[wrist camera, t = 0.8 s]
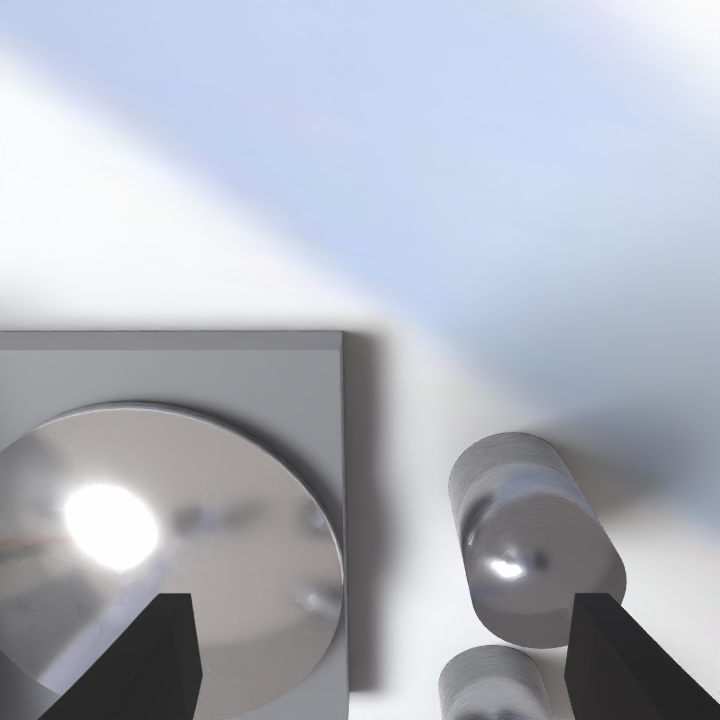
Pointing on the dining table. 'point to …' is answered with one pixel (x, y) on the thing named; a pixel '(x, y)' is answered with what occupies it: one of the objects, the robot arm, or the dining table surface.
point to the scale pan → (164, 549)
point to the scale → (211, 397)
